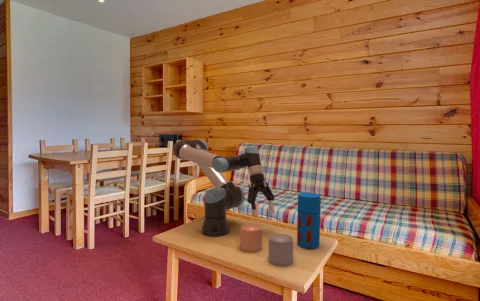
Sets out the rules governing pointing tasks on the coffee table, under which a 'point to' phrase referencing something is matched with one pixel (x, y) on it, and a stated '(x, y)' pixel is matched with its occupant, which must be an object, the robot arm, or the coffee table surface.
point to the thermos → (308, 220)
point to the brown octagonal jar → (280, 249)
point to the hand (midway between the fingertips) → (264, 214)
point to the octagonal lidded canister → (251, 237)
